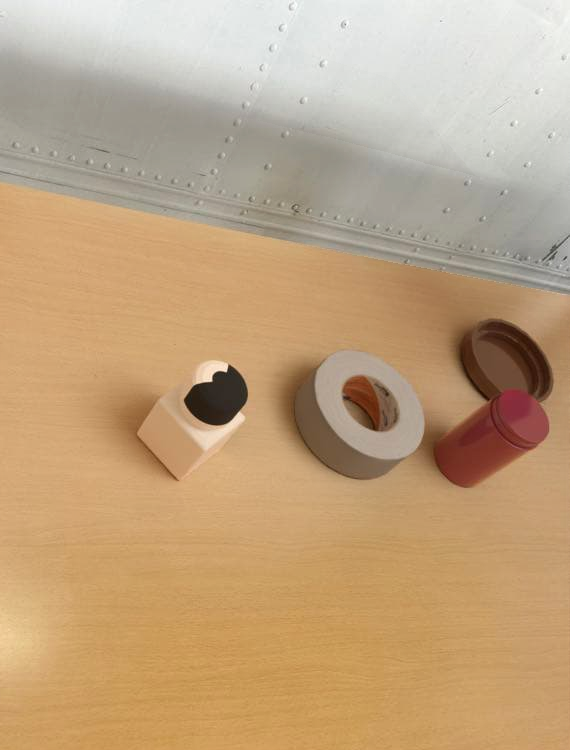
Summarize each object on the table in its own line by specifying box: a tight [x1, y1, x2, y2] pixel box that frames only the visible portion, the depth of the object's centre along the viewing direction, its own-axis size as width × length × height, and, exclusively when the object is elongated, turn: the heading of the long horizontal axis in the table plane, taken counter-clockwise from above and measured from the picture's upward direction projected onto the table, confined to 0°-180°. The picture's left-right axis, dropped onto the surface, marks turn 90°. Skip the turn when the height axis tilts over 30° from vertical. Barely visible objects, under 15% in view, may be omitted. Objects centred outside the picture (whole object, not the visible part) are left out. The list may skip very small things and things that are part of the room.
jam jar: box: [433, 389, 550, 489], centre depth 97 cm, size 8×8×12 cm
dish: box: [461, 317, 555, 405], centre depth 111 cm, size 14×14×3 cm
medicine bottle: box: [136, 359, 249, 481], centre depth 81 cm, size 7×7×12 cm
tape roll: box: [293, 349, 426, 480], centre depth 95 cm, size 15×15×5 cm
